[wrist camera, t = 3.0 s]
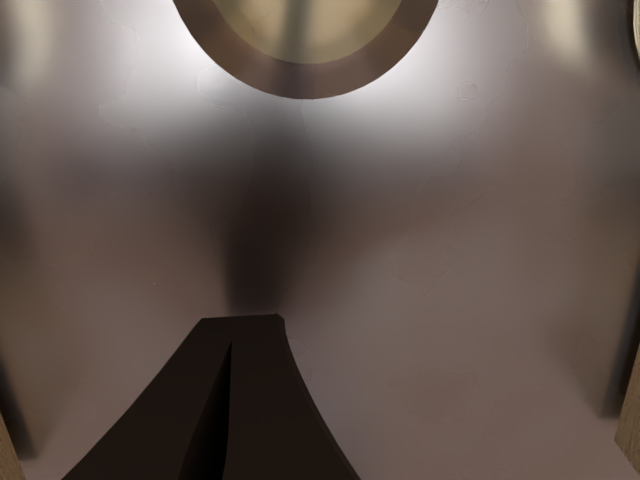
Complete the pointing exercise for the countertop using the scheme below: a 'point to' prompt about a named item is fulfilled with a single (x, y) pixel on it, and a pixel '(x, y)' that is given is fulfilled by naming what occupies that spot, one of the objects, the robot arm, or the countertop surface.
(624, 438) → the knob
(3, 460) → the knob
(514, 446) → the grey metal plate
